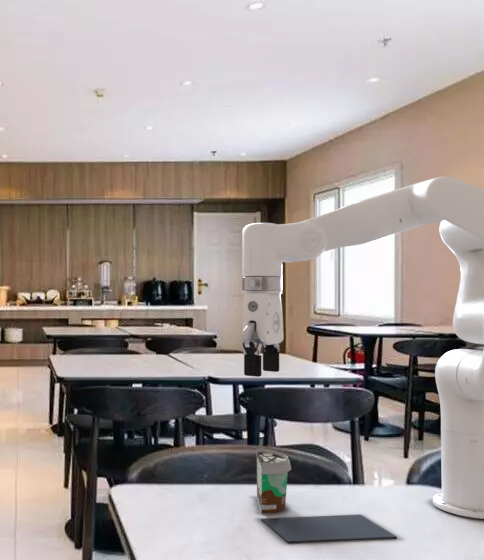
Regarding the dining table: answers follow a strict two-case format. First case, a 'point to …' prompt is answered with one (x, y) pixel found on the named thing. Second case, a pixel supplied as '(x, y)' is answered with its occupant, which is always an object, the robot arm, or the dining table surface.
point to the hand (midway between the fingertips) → (262, 373)
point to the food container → (271, 480)
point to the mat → (326, 528)
